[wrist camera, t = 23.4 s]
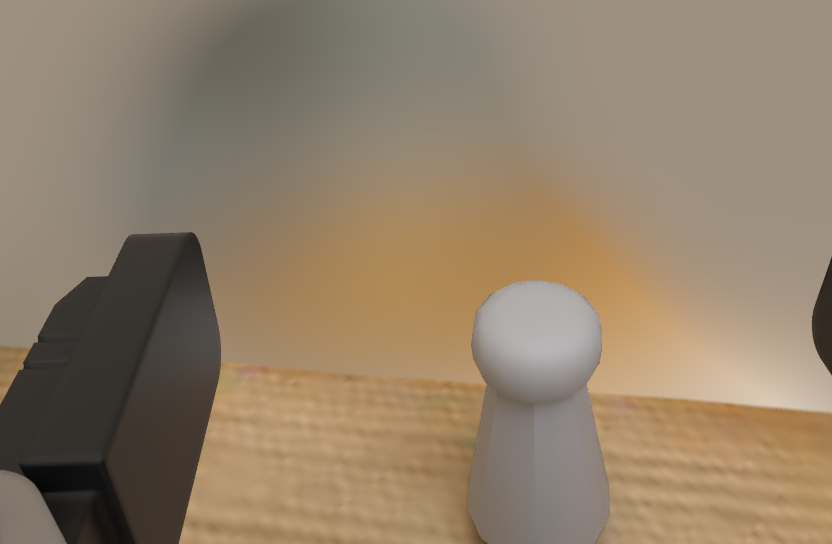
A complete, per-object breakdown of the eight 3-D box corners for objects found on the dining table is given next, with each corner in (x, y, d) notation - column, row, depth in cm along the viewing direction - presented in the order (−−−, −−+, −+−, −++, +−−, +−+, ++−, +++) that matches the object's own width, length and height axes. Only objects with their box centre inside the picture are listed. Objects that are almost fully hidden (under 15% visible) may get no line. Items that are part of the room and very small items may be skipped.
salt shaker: (551, 450, 37) (554, 231, 28) (636, 544, 33) (669, 323, 24) (444, 511, 35) (414, 298, 26) (521, 619, 31) (514, 408, 23)
